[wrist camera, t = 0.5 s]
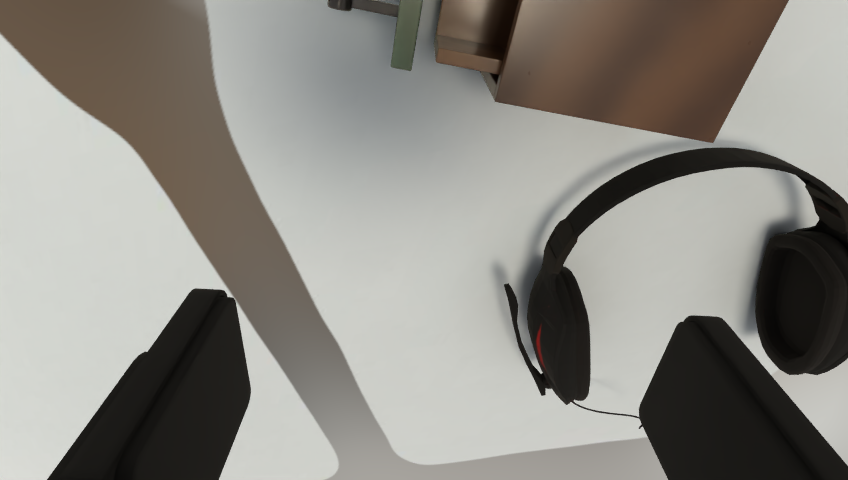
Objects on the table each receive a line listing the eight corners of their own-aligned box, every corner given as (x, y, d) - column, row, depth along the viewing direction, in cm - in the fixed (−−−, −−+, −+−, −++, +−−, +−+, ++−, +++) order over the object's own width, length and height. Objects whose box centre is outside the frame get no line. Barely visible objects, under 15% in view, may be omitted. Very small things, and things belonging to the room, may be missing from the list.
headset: (578, 410, 54) (604, 484, 46) (445, 262, 43) (450, 326, 35) (839, 293, 45) (923, 361, 37) (756, 68, 34) (851, 99, 26)
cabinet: (479, 70, 34) (494, 101, 26) (526, -126, 28) (562, -157, 21) (652, 105, 35) (713, 143, 28) (732, -77, 29) (836, -89, 22)
